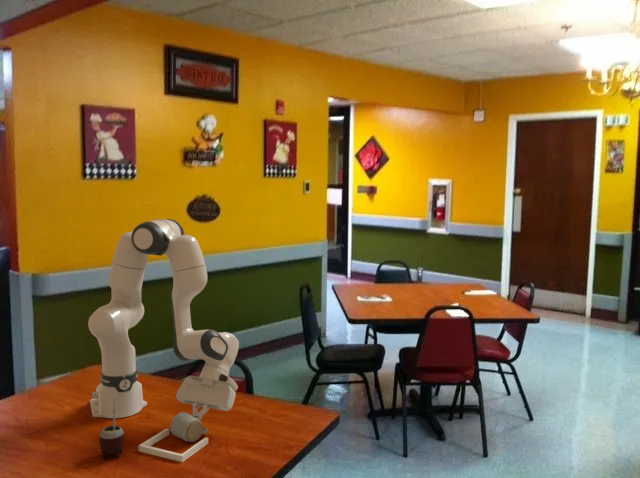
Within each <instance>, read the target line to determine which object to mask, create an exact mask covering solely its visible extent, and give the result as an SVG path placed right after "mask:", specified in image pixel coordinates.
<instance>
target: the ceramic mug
mask: <svg viewBox="0 0 640 478" xmlns="http://www.w3.org/2000/svg"><path fill="white" fill-rule="evenodd" d="M170 432H171V434H172V435H173V436H175V437H177V438H178V439H181V440H183V441H186V442H187V443H195V442H196V441H198V440H199V439H200V438H201V437H202V435H207V433H208V428H206V427H205V426H204V423H203V422H202V421H201V420H200V419H197V418H195V417H193V416H192V414H190V413H188V412H187V411H182V412H179V413H177V414H175V416H173V419H172V421H171V422H170Z"/></svg>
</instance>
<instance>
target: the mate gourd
mask: <svg viewBox="0 0 640 478" xmlns="http://www.w3.org/2000/svg"><path fill="white" fill-rule="evenodd" d="M115 406H116V399H114V407H113V418H112V420H113V421H112V425H110V426H106V427H104V428H103V429H102V430H101V431H100V433H99V437H98V442H99V443H98V444H99V446H100V450H101V454H102V457H101V458H102V460H106V459H108V458H111V457H112V458H114V459H116V460H117V459H120V456H119V454H120V453H123V446H124V444H125V440H126V439H125V438H126V436H125V432H124V429H123V428H122V427H121V426H119V425H116V418H115V412H116V409H115Z"/></svg>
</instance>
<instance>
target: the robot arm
mask: <svg viewBox="0 0 640 478" xmlns="http://www.w3.org/2000/svg"><path fill="white" fill-rule="evenodd" d="M200 246H201V245H200V244H199V242H198V240H197V238H196V237H194V236H192V235H189V234H185V230H184V228H183V226H182V224H181V223H179V222H178V221H176V220H174V219H172V218H171V219H170V218H165V219H163V218H159V219H154V220H149V221H144V222H141V223H139V224H138V225H136V226H135V227H134V229H133V231H128V232H125V233H123V234H122V235H121V237H120V239H119V240H118V242H117V246H116V248H115V252H114V255H113V258H112V262H111V268H110V272H109V277H108V286H109V287H110V289H111V299H110V301H109V303H107V304H105V305H103V306H100V307H98V308H97V309H96V310H95V311H94V312H93V313H92V314H91V315H90V316H89V318H88V323H87V326H88V330H89V332H90V333H91V335H93V336H94V337H95V338H96V339H97V342H98V345H99V348H100V354H101V366H102V367H101V368H102V371H101V374H100V383H99V384H98V386H97V387H96V388H95V389H96V390H95V391H94V392H92V393H91V398H92V399H90V400H89V405H90V406H89V407H90V411H91V415H92V417H93V418H105V419H113V407H114V399H116V406H115V409H116V412H115V419H120V418H121V419H122V418H127V417H131V416H133V415H136V414H138V413H139V412H140V411H142V409H143V408H145V407H147V406H148V402H147V401H146V400H144V398H143V397H144V396H143V395H144V394H143V385H142V383H141V382H140V381H138V375H139V374H138V369H137V364H136V363H137V362H136V348H135V346H134V345H133V344H132V343H131V340H130V337H129V330H130V329H132V328H134V327H135V326H137V324H138V323H140V321H141V320H142V319H143V317H144V314H145V306H144V304H143V303H142V289H143V288H142V287H143V283H144V282H143V281H144V279H145V278H144V277H145V273H146V269H147V264H148V259H149V256H150V255H151V256H159V257H161V256H163V255H165V256H166V258H167V259H168V260H169V263H170V267H171V273H172V274H171V275H172V281H173V285H172V290H171V292H170V293H171V294H170V302H171V303H170V305H171V312H172V313H171V316H172V324H173V326H172V327H173V341H172V347H173V349H172V350H173V353H174V354H175V356H176V357H177V358H178V360H180V361H183V362H189V361H193V360H194V361H195V360H203V361H204V363H205V364H204V366H203V368H202V370H201V372H200V375H199V376H197V375H191V374H190V375H188V376H187V377H185V378H184V379H183V382H182V384H181V385H180V387H179V388H178V390H177V392H176V394H175V396H176V397H175V398H176V400H177V401H178V402H179V403H184V404H187V405H192V414H191V415H192V416H193V417H195V418H197V419H199V420H200V421H201V420H202V418H203V416H204V415H205V414H206V413H207V412H209V410H210V408H211V409H215V410H220V411H226V412H229V411H230V410H231V409H232V408H233V405H234V403H235V399H236V392H237V391H238V388H239V385H238V384H237V383H236V382H235V381H234V379H233V378H231V376H229V375H230V370H231V368H232V367H233V366H234V363H235V361H236V359H237V356H238V352H239V347H240V342H239V339H238V338H237V337H236V336H235V335H234V334H233V333H230V332H228V331H223V332H218V330H217V331H216V330H215V329H200V330H194V329H193V327H192V318H191V307H190V305H191V303H192V300H193V299H194V297H196V296H197V295H199V294H200V293H201V292H202V291H203V290H204V289H205V287H206V285H207V283H208V272H207V271H208V270H207V267H206V262H205V258H204V254H203V251H202V249H201V247H200ZM200 407H202V409H200ZM199 409H200V410H199ZM198 410H199V411H198Z"/></svg>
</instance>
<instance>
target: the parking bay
mask: <svg viewBox="0 0 640 478" xmlns="http://www.w3.org/2000/svg"><path fill="white" fill-rule="evenodd" d="M167 436H170V428H165V429H163V430H162V431H160V432H158V433H157V434H155V435H153V436H152V437H150V438H148V439H147V440H145V441H144V442H142V443H140V444H139V445H138V448H137V449H138V452H141V453H144V454H148V455H152V456H157V457H160V458H163V459H168V460H172V461H176V462H179V463H180V462H181V463H184V462H185V461H186V460H187V459H189V458H190V457H192V456H193V455H194V454H196V453H197V452H199V451H200V450H201V449H203V448H205V446H207V445H208V444H209V437H204V438H203V439H201V440H199V441H198V442H196V443H195V444H194V445H192V446H191V447H190V448H188V449H186V450H185V451H183V452H182V453H178V452H174V451H172V450H171V451H170V450H167V449H163V448H159V447H154V446H153V445H155V444H156V443H158V442H159V441H161V440H163V439H164V438H166V437H167Z"/></svg>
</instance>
